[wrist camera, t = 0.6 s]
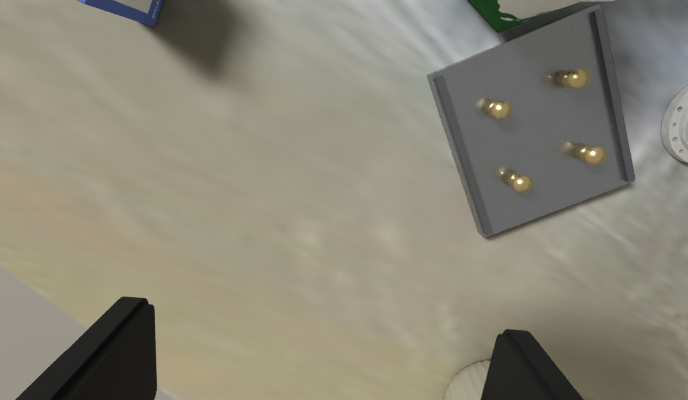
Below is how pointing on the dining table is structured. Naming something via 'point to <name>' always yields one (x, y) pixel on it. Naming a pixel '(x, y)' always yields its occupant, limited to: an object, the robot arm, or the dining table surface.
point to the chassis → (536, 122)
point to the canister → (468, 382)
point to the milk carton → (518, 10)
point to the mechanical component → (676, 126)
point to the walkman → (130, 9)
